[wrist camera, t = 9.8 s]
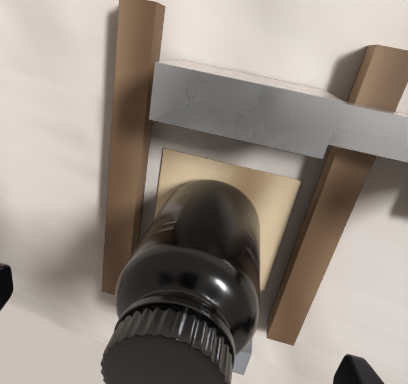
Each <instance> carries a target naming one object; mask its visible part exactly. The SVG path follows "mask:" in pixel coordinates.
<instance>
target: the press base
mask: <svg viewBox="0 0 408 384" xmlns="http://www.w3.org/2000/svg"><path fill="white" fill-rule="evenodd" d="M164 12H165V6H163V5H161V4H159V3H157V2H153V1H147V0H119V11H118V27H117V44H116V61H115V78H114V95H113V112H112V128H111V145H110V162H109V179H108V196H107V213H106V229H105V246H104V263H103V280H102V291H103V292H106V293H110V294H113V295H115V290H116V284H117V281H118V278H119V276H120V274H121V272H122V270H123V268H124V266H125V265H126V263H127V261H128V260H129V258H130V257H131V255H132V254H133V252H134V250H135V249H136V247H137V246H138V242H139V233H140V224H141V215H142V207H143V198H144V189H145V180H146V171H147V162H148V154H149V145H150V136H151V127H152V120H149V114H150V105H151V96H152V87H153V77H154V68H155V62H159V57H160V48H161V39H162V30H163V21H164ZM407 82H408V51H407V50H402V49H397V48H391V47H386V46H381V45H369V46H368V47H367V50H366V52H365V55H364V58H363V61H362V63H361V66H360V69H359V71H358V74H357V77H356V80H355V82H354V85H353V88H352V91H351V93H350V96H349V99H348V102H351V103H355V104H360V105H365V106H370V107H374V108H379V109H384V110H389V111H393V112H395V110H396V108H397V106H398V103H399V101H400V99H401V96H402V94H403V92H404V89H405V87H406V85H407ZM375 156H376V155H372V154H368V153H363V152H359V151H354V150H350V149H345V148H341V147H336V146H332V145H331V148H330V151H329V154H328V156H327V159H326V162H325V165H324V167H323V170H322V173H321V175H320V178H319V181H318V184H317V186H316V189H315V192H314V195H313V197H312V200H311V203H310V206H309V208H308V211H307V214H306V217H305V219H304V222H303V225H302V227H301V230H300V233H299V236H298V238H297V241H296V244H295V247H294V249H293V252H292V255H291V258H290V260H289V263H288V266H287V269H286V271H285V274H284V277H283V279H282V282H281V285H280V288H279V290H278V293H277V296H276V299H275V301H274V304H273V307H272V310H271V312H270V315H269V318H268V320H267V338H268V339H272V340H275V341H279V342H283V343H286V344H290V345H293V346H294V343H295V341H296V339H297V337H298V334H299V332H300V330H301V327H302V325H303V323H304V320H305V318H306V316H307V313H308V311H309V309H310V306H311V304H312V302H313V300H314V297H315V295H316V293H317V290H318V288H319V286H320V283H321V281H322V279H323V276H324V274H325V272H326V270H327V267H328V265H329V263H330V260H331V258H332V256H333V253H334V251H335V249H336V246H337V244H338V242H339V240H340V237H341V235H342V233H343V230H344V228H345V226H346V223H347V221H348V219H349V216H350V214H351V212H352V209H353V207H354V205H355V203H356V200H357V198H358V196H359V193H360V191H361V189H362V186H363V184H364V182H365V179H366V177H367V175H368V173H369V170H370V168H371V166H372V163H373V161H374V159H375ZM197 180H217V181H222V182H225V183H227V184H230V185H232V186H234V187H236V188H237V189H239V190H240V191H241V192H243V193H244V194H245V195H246V196H247V197H248V198H249V200H250V201H251V202H252V204H253V205H254V207H255V209H256V211H257V214H258V217H259V223H260V290H263V291H264V290H265V287H266V284H267V281H268V278H269V275H270V272H271V269H272V266H273V263H274V260H275V257H276V254H277V251H278V249H279V246H280V243H281V240H282V237H283V234H284V231H285V228H286V225H287V222H288V219H289V216H290V213H291V210H292V207H293V205H294V202H295V199H296V196H297V193H298V190H299V187H300V184H301V181H300V180H296V179H292V178H288V177H283V176H279V175H275V174H271V173H266V172H262V171H258V170H254V169H249V168H245V167H241V166H237V165H232V164H228V163H224V162H220V161H215V160H211V159H207V158H203V157H199V156H194V155H190V154H186V153H182V152H177V151H173V150H169V149H165V148H164V150H163V157H162V165H161V172H160V180H159V187H158V195H157V202H156V210H155V217H154V219H155V218H156V216H157V214H158V213H159V211H160V210H161V208H162V207H163V205H164V204H165V202H166V201H167V199H168V198H169V197H170V196H171V194H172V193H173V192H174V191H176V190H177V189H178V188H180V187H181V186H183V185H185V184H187V183H190V182H193V181H197ZM251 349H252V339H251V341H250V342H249V343H248V345H247V346H246V347H245V348H244V349H243V350H242V351H241V352H240V353H239V354H238V355H237V356H235V361H234V366H233V370H232V372H235V373H238V374H241V375H244V373H245V370H246V367H247V365H248V362H249V359H250V356H251Z"/></svg>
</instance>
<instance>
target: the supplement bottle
mask: <svg viewBox="0 0 408 384" xmlns="http://www.w3.org/2000/svg"><path fill="white" fill-rule="evenodd" d="M115 306H116V311H117V315H118V318H119V320H118V322H117V324H116V326H115V329H114V333H113V335H112V337H111V339H110V341H109V343H108V345H107V347H106V349H105V351H104V354H103V359H102V361H101V366H102V370H101V373H102V375H103V377H104V379H103V380H104V382H105V383H106V384H231V376H232V370H233V366H234V361H235V356H237V355H238V354H239V353H240V352H241V351H242V350H243V349H244V348H245V347H246V346H247V345H248V343H249V342H250V341H251V339H252V337H253V336H254V334H255V331H256V329H257V326H258V321H259V312H260V223H259V217H258V214H257V211H256V209H255V207H254V205H253V204H252V202H251V201H250V200H249V198H248V197H247V196H246V195H245V194H244V193H243V192H241V191H240V190H239V189H237V188H236V187H234V186H232V185H230V184H227V183H225V182H222V181H217V180H197V181H193V182H190V183H187V184H185V185H183V186H181V187H180V188H178V189H177V190H176V191H174V192H173V193H172V194H171V196H170V197H169V198H168V199H167V201H166V202H165V204H164V205H163V207H162V208H161V210H160V211H159V213H158V214H157V216H156V218H155V219H154V221H153V222H152V224H151V225H150V227H149V229H148V230H147V232H146V233H145V235H144V236H143V238H142V240H141V241H140V243H139V244H138V246H137V247H136V249H135V250H134V252H133V254H132V255H131V257H130V258H129V260H128V261H127V263H126V265H125V266H124V268H123V270H122V272H121V274H120V276H119V278H118V281H117V284H116V290H115Z"/></svg>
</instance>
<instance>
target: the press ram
mask: <svg viewBox="0 0 408 384" xmlns="http://www.w3.org/2000/svg"><path fill="white" fill-rule="evenodd" d="M149 120H153V121H158V122H162V123H167V124H171V125H175V126H180V127H184V128H189V129H193V130H197V131H202V132H206V133H210V134H215V135H219V136H224V137H228V138H232V139H237V140H241V141H246V142H250V143H254V144H259V145H263V146H267V147H272V148H276V149H281V150H285V151H289V152H294V153H298V154H303V155H307V156H311V157H316V158H320V159H323V157H324V154H325V152H326V149H327V146H328V145H332V146H336V147H341V148H345V149H350V150H354V151H359V152H363V153H368V154H372V155H377V156H381V157H386V158H390V159H395V160H399V161H403V162H408V114H403V113H398V112H393V111H389V110H384V109H379V108H374V107H370V106H365V105H360V104H355V103H351V102H346V101H342V100H340V99H339V98H337V97H335V96H334V95H332V94H330V93H329V92H327V91H325V90H323V89H319V88H314V87H309V86H304V85H299V84H295V83H290V82H285V81H280V80H275V79H271V78H266V77H261V76H256V75H251V74H247V73H242V72H237V71H232V70H227V69H223V68H218V67H213V66H208V65H203V64H199V63H194V62H189V61H184V60H180V61H161V62H155V68H154V77H153V87H152V96H151V105H150V114H149Z"/></svg>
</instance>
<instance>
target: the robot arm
mask: <svg viewBox="0 0 408 384" xmlns="http://www.w3.org/2000/svg"><path fill="white" fill-rule="evenodd" d="M12 292H13V281H12V272H11V268H10V266H9V265H7V264H3V263H0V311H1V309H2V308H3V307H4V305H5V304H6V302H7V301H8V300H9V298H10V297H11V295H12ZM333 384H384V382H383V381H382V380H381V379H380V377H379V376H378V375H377V374H376V372H375V371H374V370H373V369H372V367H371V366H370V365H369V364H368V362H367V361H366V360H365V359H363V358H361V357H357V356H354V355H350V354H347V355H345V356H344V358H343V360H342V362H341V363H340V365H339V367H338V369H337V371H336V373H335V375H334V380H333Z"/></svg>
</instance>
